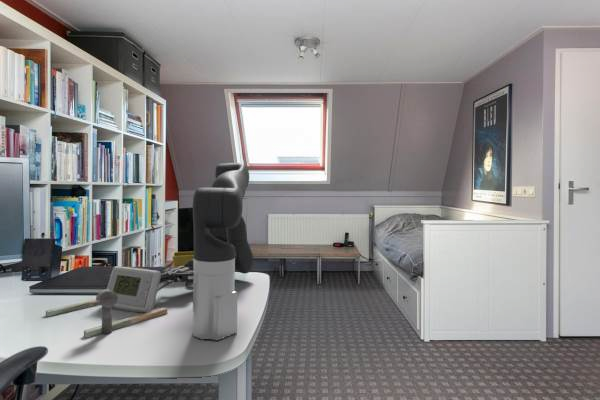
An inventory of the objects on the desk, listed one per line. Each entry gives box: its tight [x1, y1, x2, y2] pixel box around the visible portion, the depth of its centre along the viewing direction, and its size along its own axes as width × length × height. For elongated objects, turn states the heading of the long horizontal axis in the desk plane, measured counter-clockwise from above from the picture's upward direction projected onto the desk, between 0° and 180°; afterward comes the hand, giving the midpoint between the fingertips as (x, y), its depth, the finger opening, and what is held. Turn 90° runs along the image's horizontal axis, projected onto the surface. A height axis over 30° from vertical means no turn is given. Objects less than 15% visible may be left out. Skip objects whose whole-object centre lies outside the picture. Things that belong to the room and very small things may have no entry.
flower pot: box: [172, 251, 194, 269], centre depth 133 cm, size 9×9×9 cm
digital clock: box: [106, 265, 162, 313], centre depth 100 cm, size 16×9×11 cm, turn 60°
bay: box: [45, 288, 169, 339], centre depth 93 cm, size 24×20×10 cm
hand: (155, 279), depth 105 cm, fingers closed
